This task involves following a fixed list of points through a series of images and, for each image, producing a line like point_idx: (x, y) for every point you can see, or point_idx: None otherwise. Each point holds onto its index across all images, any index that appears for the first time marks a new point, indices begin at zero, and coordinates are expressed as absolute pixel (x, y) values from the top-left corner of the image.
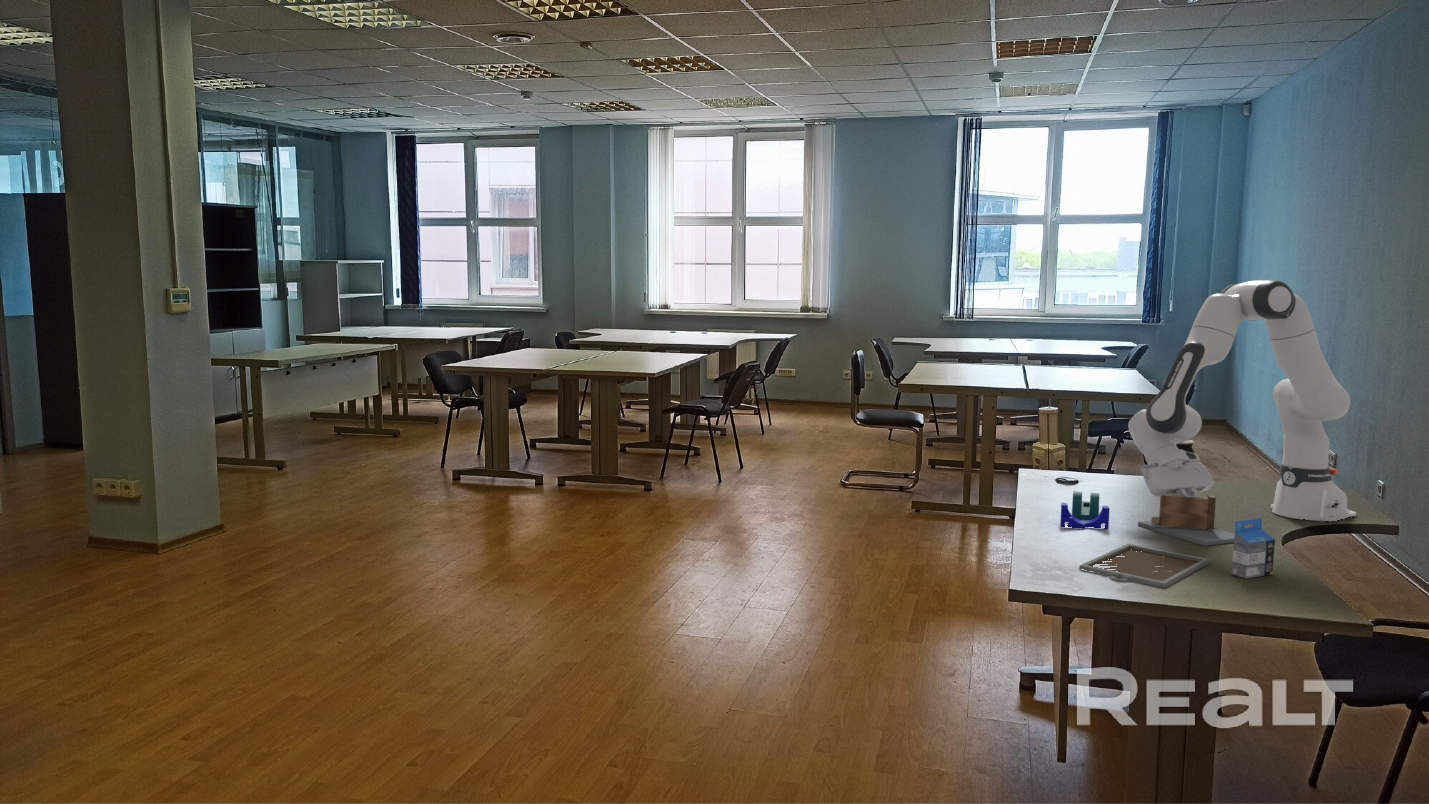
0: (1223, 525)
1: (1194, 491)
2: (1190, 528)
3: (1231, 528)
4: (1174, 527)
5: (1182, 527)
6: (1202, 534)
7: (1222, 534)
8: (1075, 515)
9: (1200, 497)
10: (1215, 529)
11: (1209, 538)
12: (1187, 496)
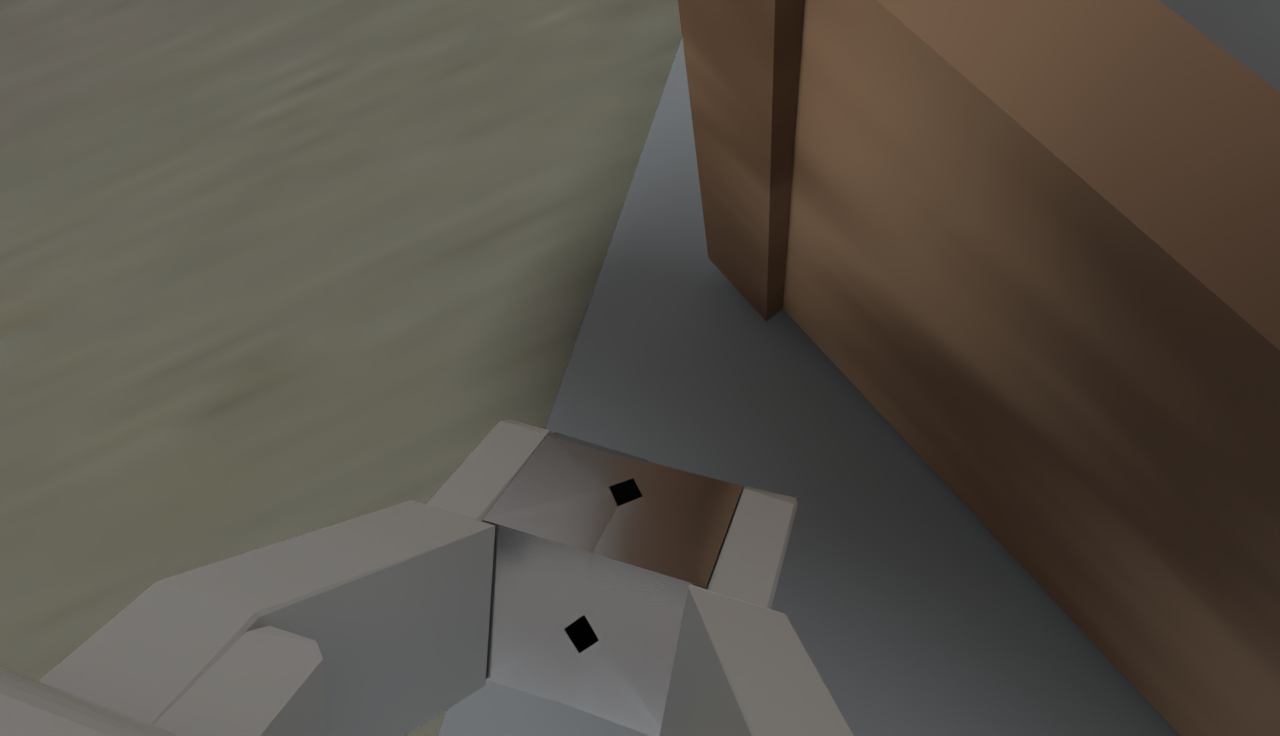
0: (137, 404)
1: (251, 620)
2: (942, 484)
3: (239, 266)
4: (1132, 698)
5: (999, 603)
6: None
7: None
8: None
9: (976, 71)
10: (669, 235)
11: (1269, 33)
12: (783, 650)
